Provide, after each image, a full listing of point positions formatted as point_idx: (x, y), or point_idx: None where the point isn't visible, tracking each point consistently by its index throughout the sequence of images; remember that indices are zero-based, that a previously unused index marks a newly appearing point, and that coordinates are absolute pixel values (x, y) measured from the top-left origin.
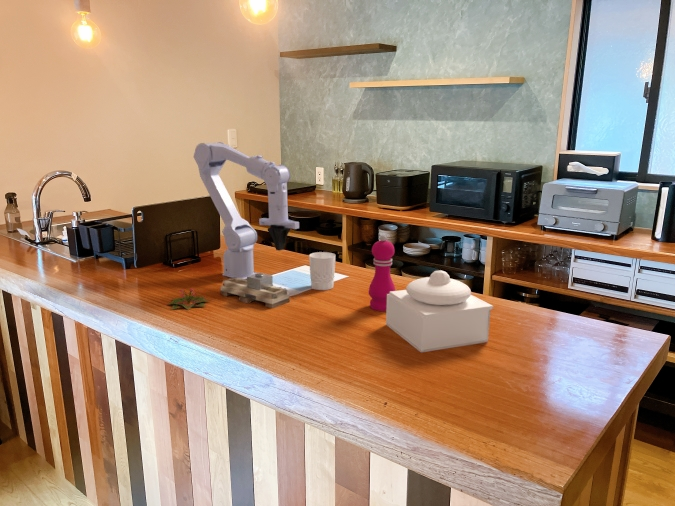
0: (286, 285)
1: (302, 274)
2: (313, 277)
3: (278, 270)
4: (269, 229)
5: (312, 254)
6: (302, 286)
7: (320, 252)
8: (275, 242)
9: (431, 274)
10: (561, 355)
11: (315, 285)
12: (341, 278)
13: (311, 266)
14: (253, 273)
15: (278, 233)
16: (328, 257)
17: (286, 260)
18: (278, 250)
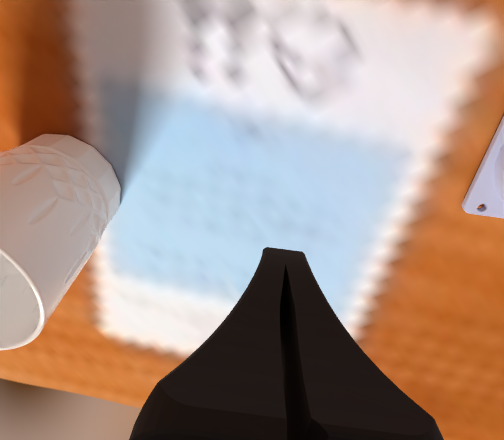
0: (225, 122)
1: None
2: (33, 155)
3: (401, 302)
4: (386, 430)
5: (40, 295)
6: (147, 147)
7: (28, 338)
8: (297, 293)
9: None
10: None
11: (49, 140)
12: (102, 305)
13: (5, 186)
14: (496, 187)
15: (196, 367)
16: (5, 322)
17: (435, 408)
18: (273, 248)
